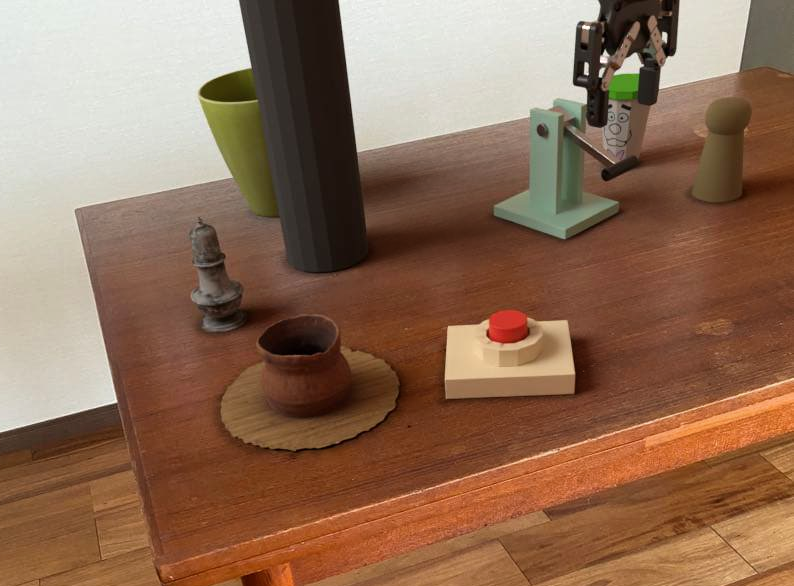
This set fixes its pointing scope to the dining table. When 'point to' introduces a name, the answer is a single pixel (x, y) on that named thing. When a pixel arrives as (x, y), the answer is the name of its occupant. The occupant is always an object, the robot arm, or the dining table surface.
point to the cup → (625, 117)
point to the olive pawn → (723, 151)
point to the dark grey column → (308, 129)
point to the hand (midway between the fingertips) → (622, 114)
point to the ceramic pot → (307, 388)
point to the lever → (595, 148)
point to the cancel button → (508, 327)
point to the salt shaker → (214, 283)
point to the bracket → (556, 179)
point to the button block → (509, 362)
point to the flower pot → (241, 136)
